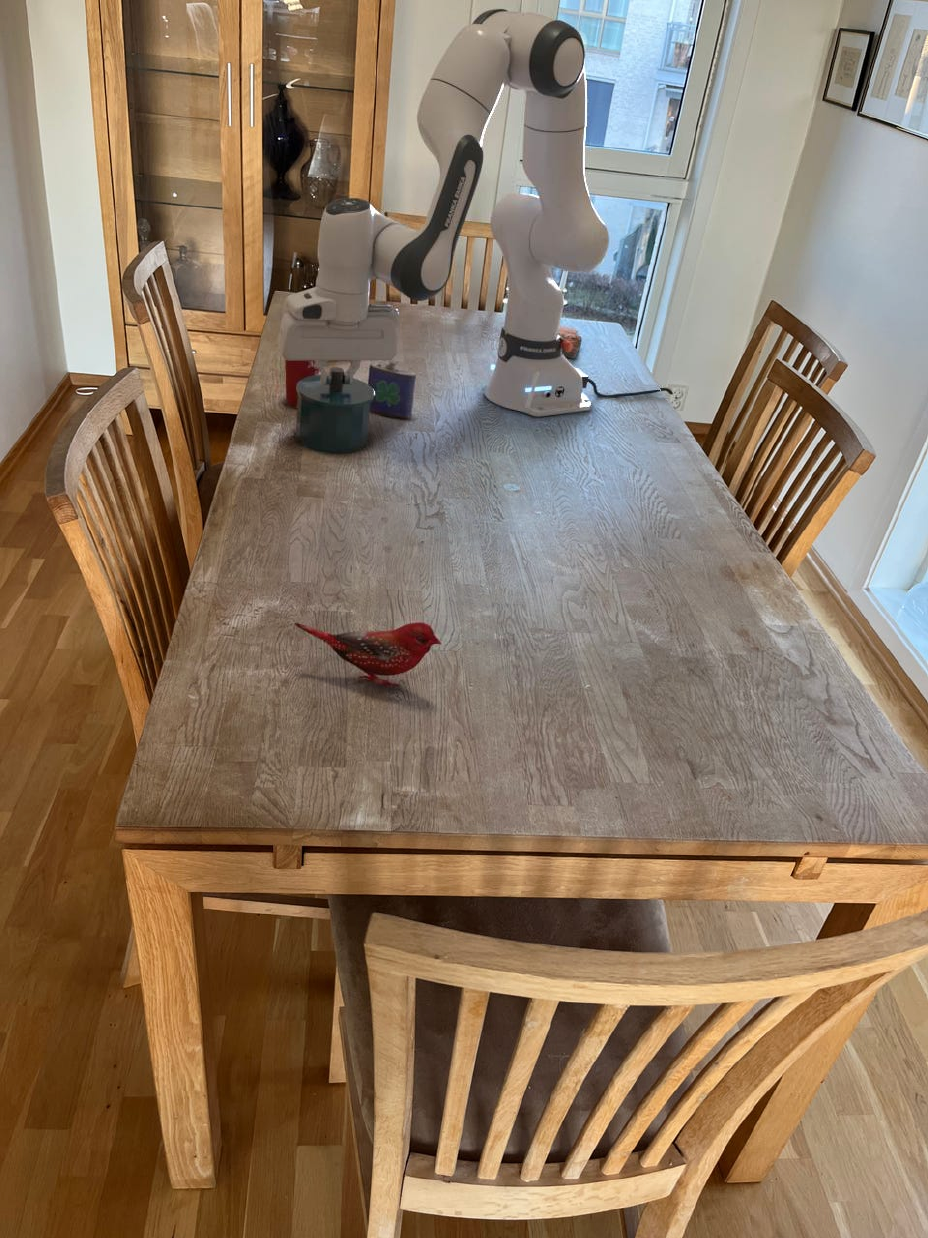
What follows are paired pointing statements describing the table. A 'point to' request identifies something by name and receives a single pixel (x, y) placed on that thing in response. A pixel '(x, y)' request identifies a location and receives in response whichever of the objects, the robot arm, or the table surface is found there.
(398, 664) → the decorative bird figurine
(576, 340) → the pottery shard
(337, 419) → the pot
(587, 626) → the table surface
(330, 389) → the pot lid
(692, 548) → the table surface
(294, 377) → the paper cup
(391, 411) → the flask
